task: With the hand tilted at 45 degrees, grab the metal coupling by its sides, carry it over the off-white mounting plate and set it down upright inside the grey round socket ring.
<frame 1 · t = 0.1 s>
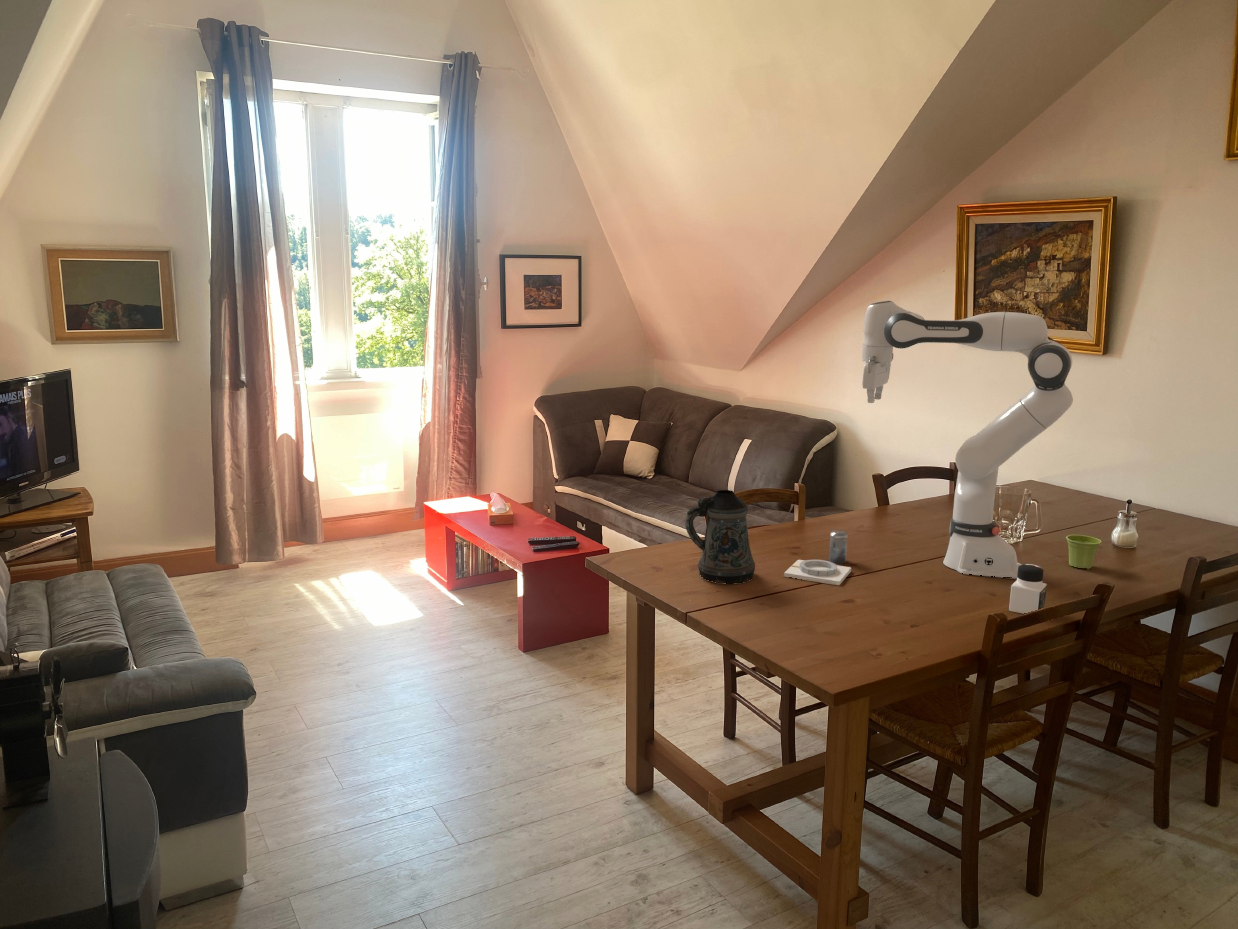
hand: (874, 401, 275), 48 cm above the table, tool pointing down, fingers open, 8 cm apart
beer stein: (722, 577, 261), on the table
mounting plate: (817, 574, 263), on the table
medicine bottle: (1026, 610, 236), on the table
plant pot: (1080, 567, 271), on the table
coupling: (837, 561, 275), on the table
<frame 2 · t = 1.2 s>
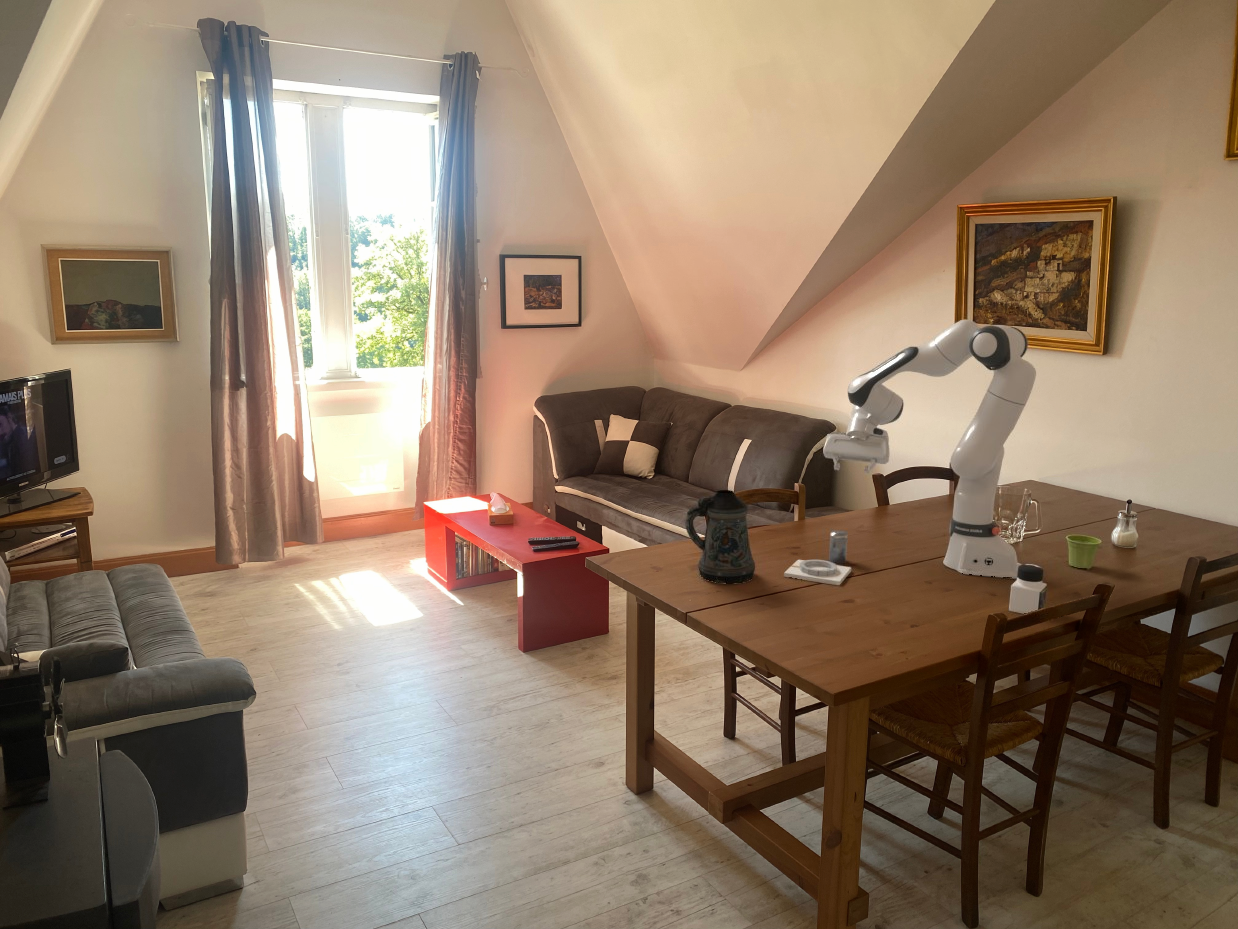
hand: (851, 470, 281), 26 cm above the table, tool tilted 45°, fingers open, 8 cm apart
nothing on the table moved.
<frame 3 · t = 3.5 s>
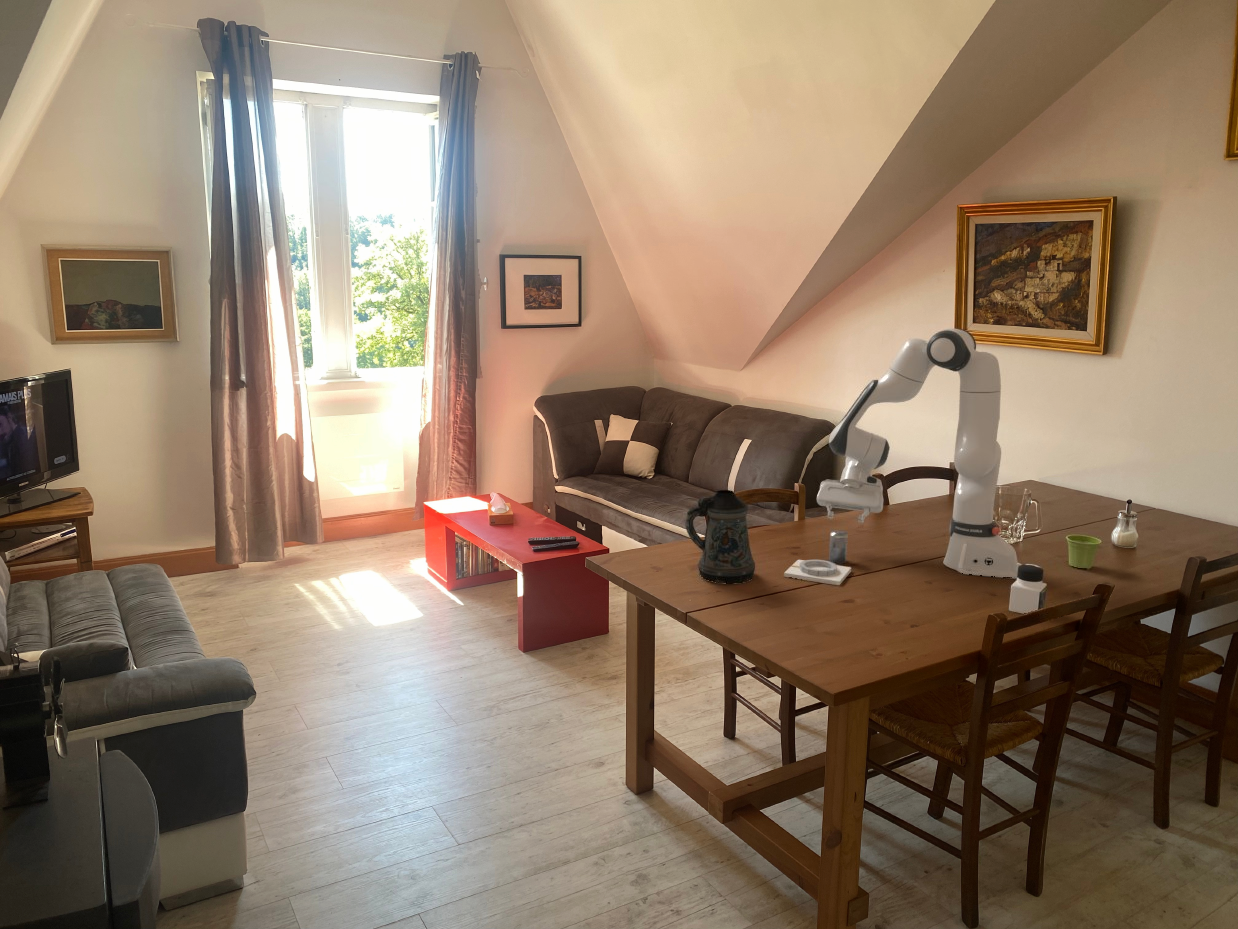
hand: (844, 519, 280), 11 cm above the table, tool tilted 45°, fingers open, 8 cm apart
nothing on the table moved.
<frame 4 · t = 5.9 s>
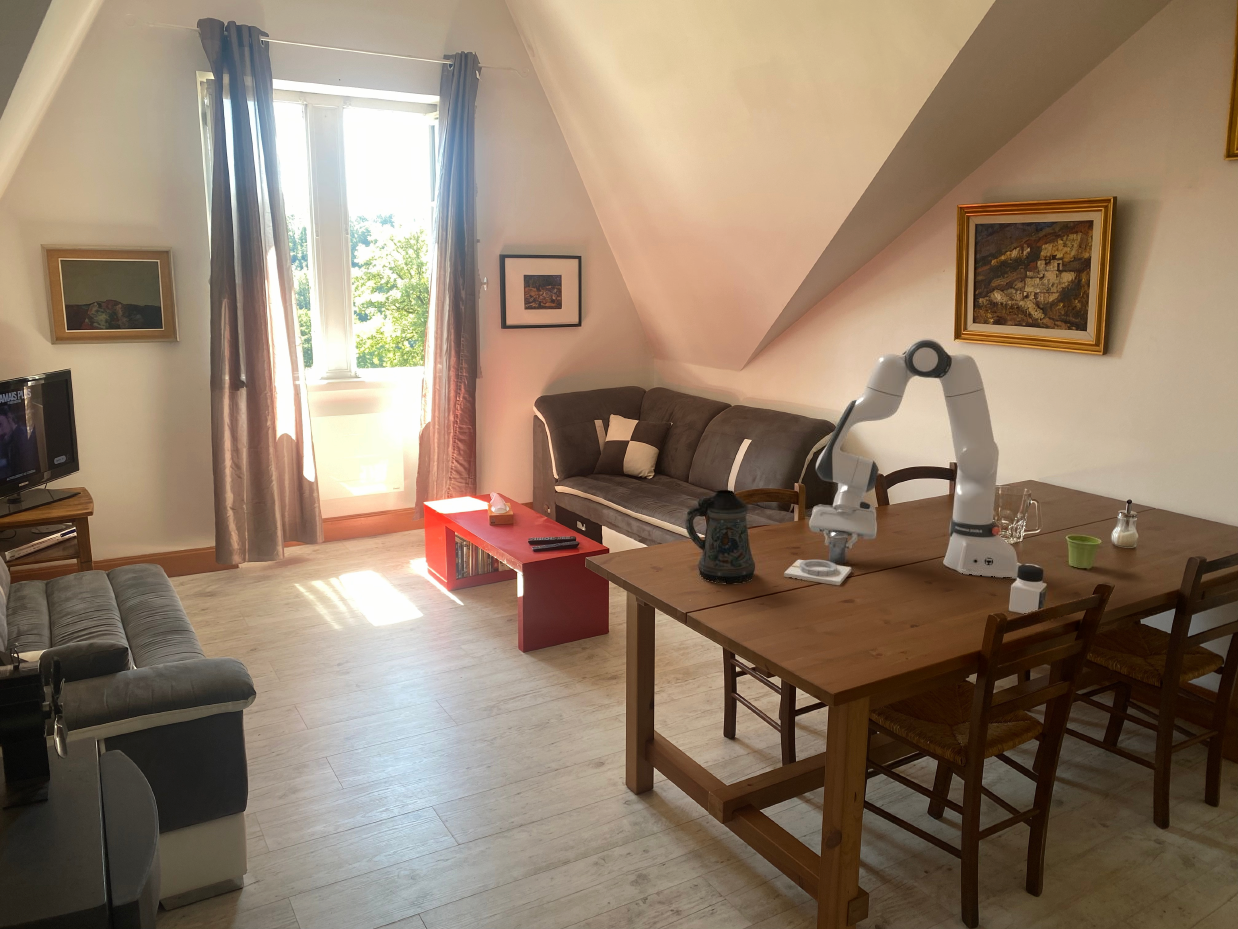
hand: (837, 546, 274), 5 cm above the table, tool tilted 45°, fingers closed on coupling, 5 cm apart
coupling: (837, 561, 275), on the table, touching gripper
everything else where it was.
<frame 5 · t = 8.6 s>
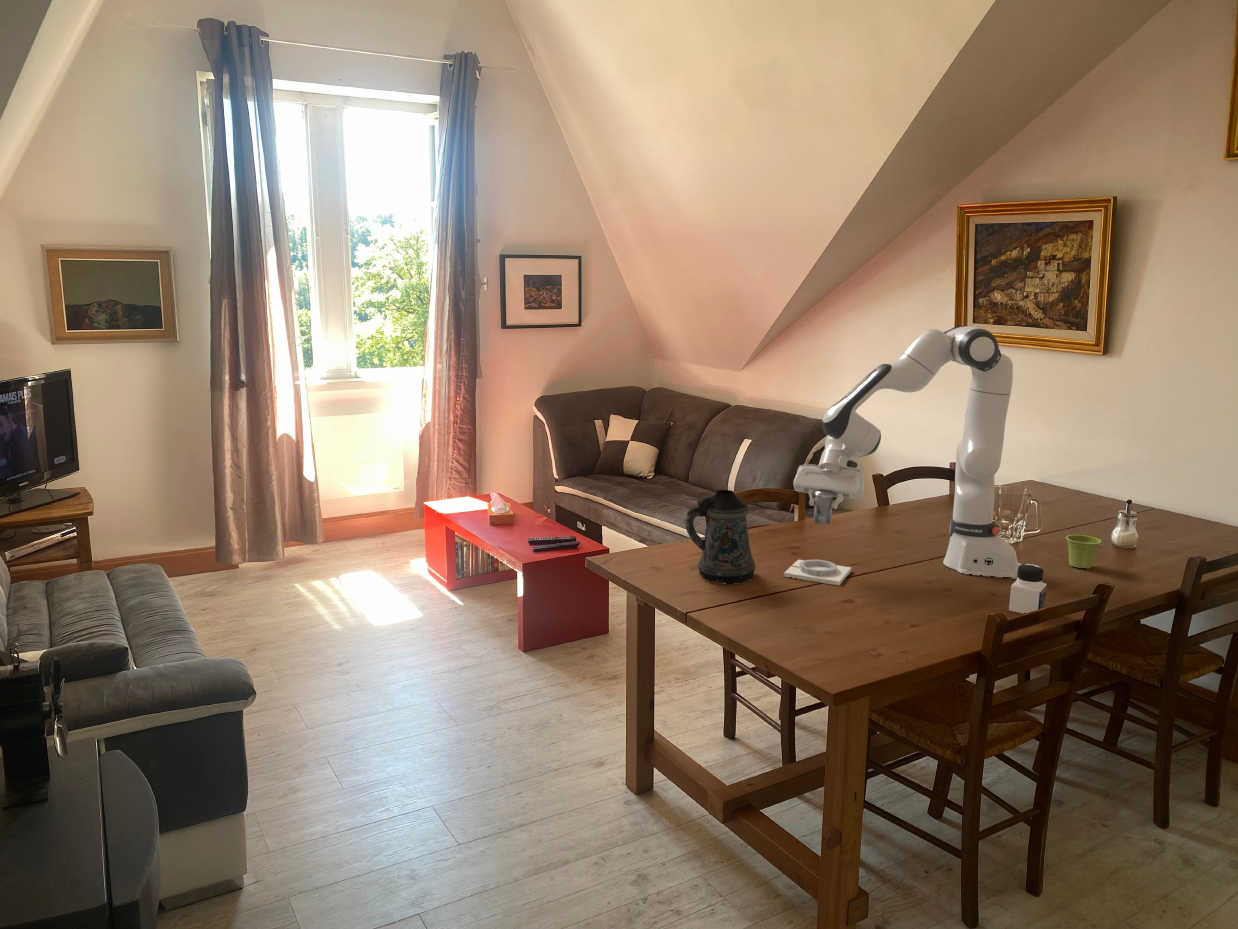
hand: (822, 506, 261), 20 cm above the table, tool tilted 45°, fingers closed on coupling, 5 cm apart
coupling: (822, 521, 263), point 15 cm above the table, touching gripper
everything else where it was.
when the fingers open (7 cm above the table, at t = 11.2 s): coupling stays where it is, resting on mounting plate.
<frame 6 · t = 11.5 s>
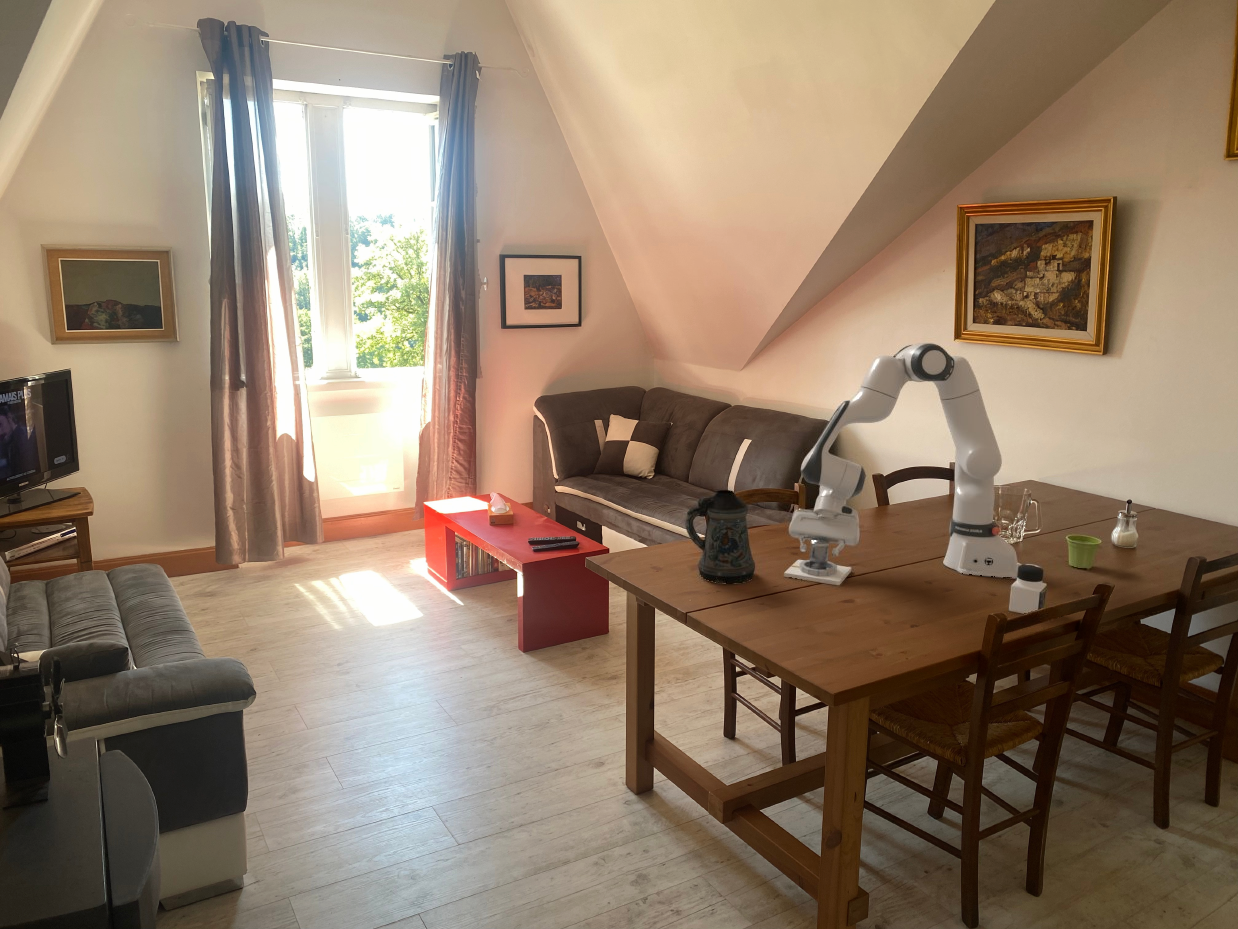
hand: (818, 552, 261), 7 cm above the table, tool tilted 45°, fingers open, 8 cm apart
coupling: (818, 570, 263), point 1 cm above the table, touching mounting plate
everything else where it was.
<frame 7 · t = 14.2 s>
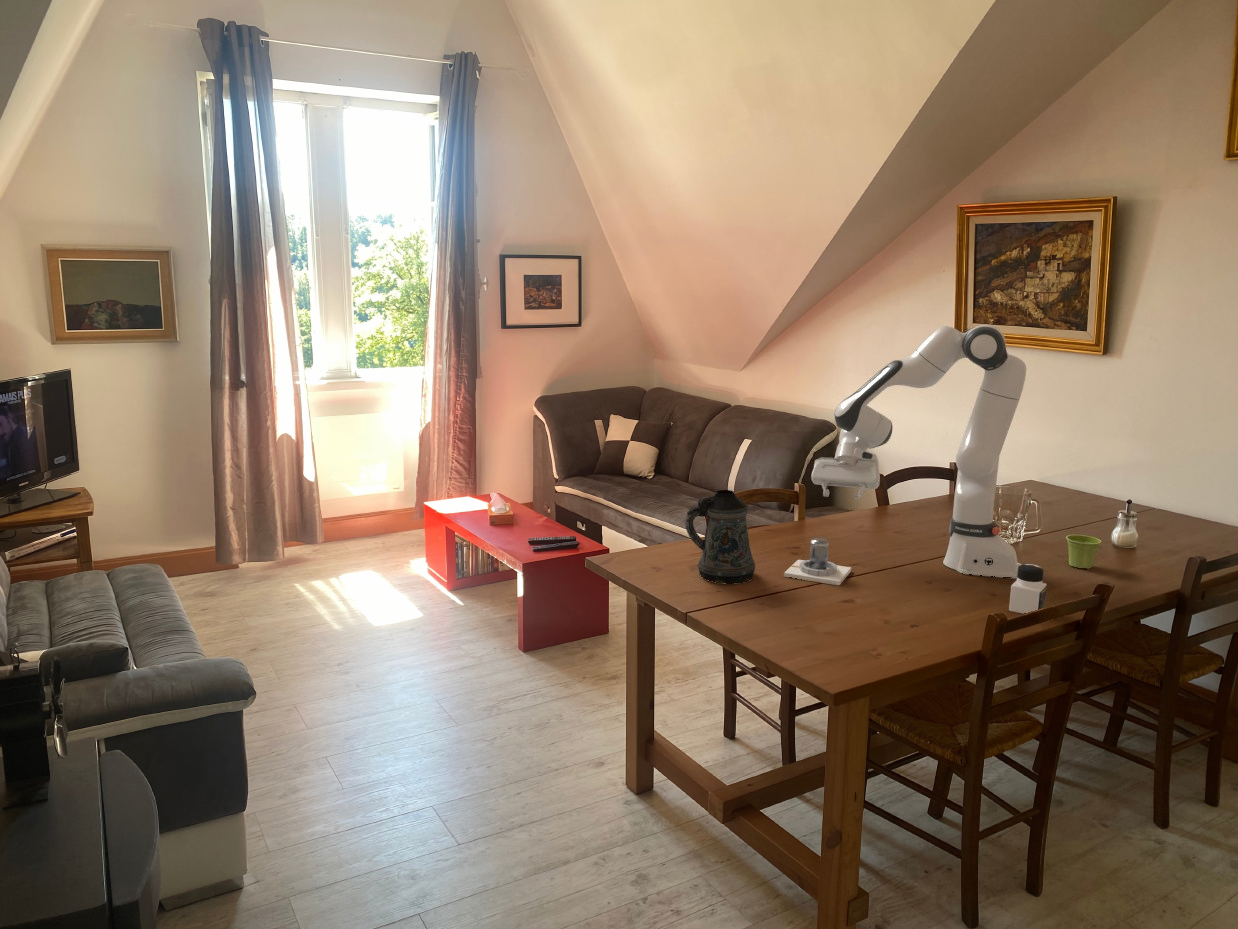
hand: (841, 496, 271), 20 cm above the table, tool tilted 45°, fingers open, 8 cm apart
nothing on the table moved.
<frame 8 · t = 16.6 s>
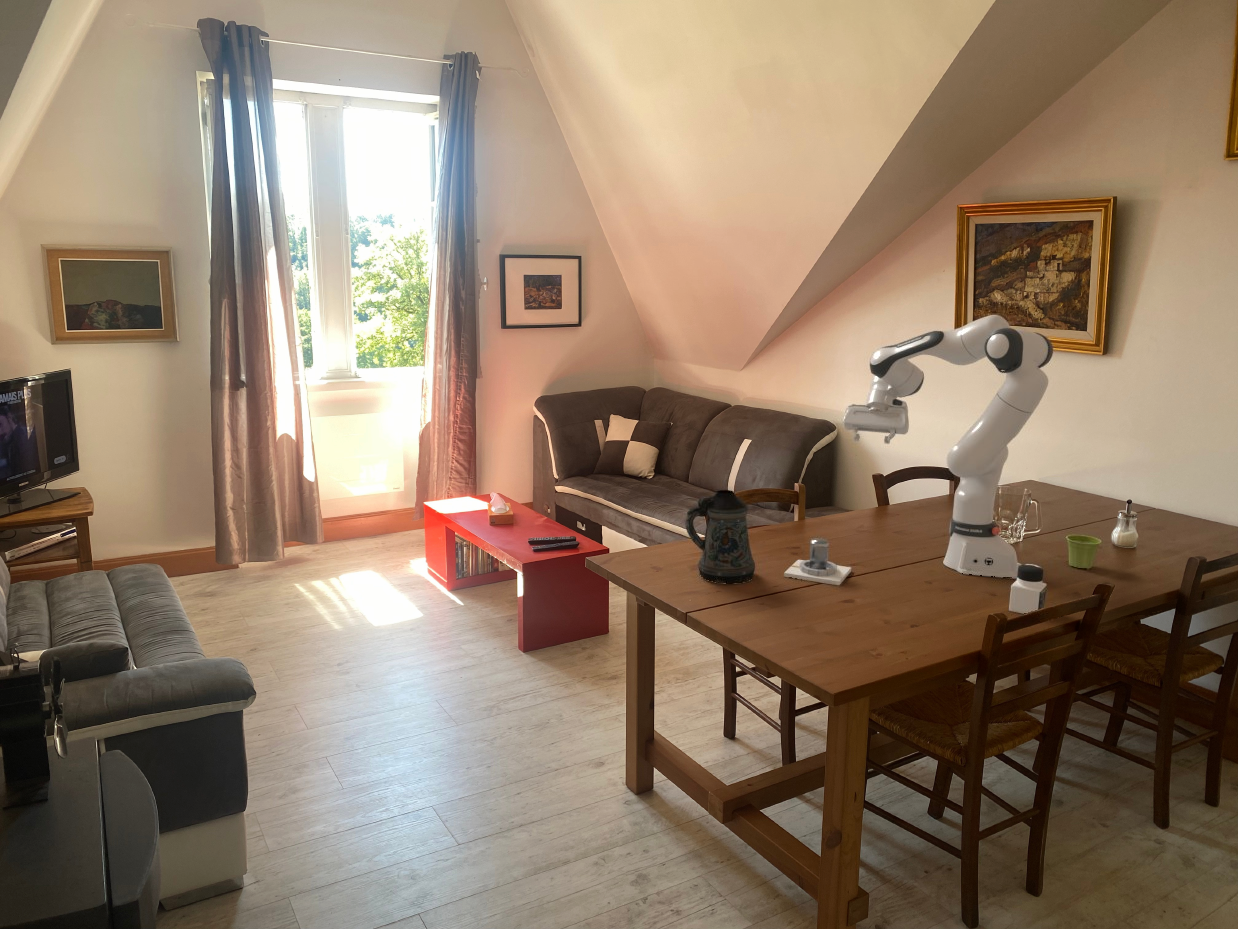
hand: (871, 441, 283), 34 cm above the table, tool tilted 45°, fingers open, 8 cm apart
nothing on the table moved.
at the end: coupling 0.0 cm off-centre on the mounting plate, point 1.2 cm above the mounting plate's base; coupling tilted 0°; the gripper is holding nothing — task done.
